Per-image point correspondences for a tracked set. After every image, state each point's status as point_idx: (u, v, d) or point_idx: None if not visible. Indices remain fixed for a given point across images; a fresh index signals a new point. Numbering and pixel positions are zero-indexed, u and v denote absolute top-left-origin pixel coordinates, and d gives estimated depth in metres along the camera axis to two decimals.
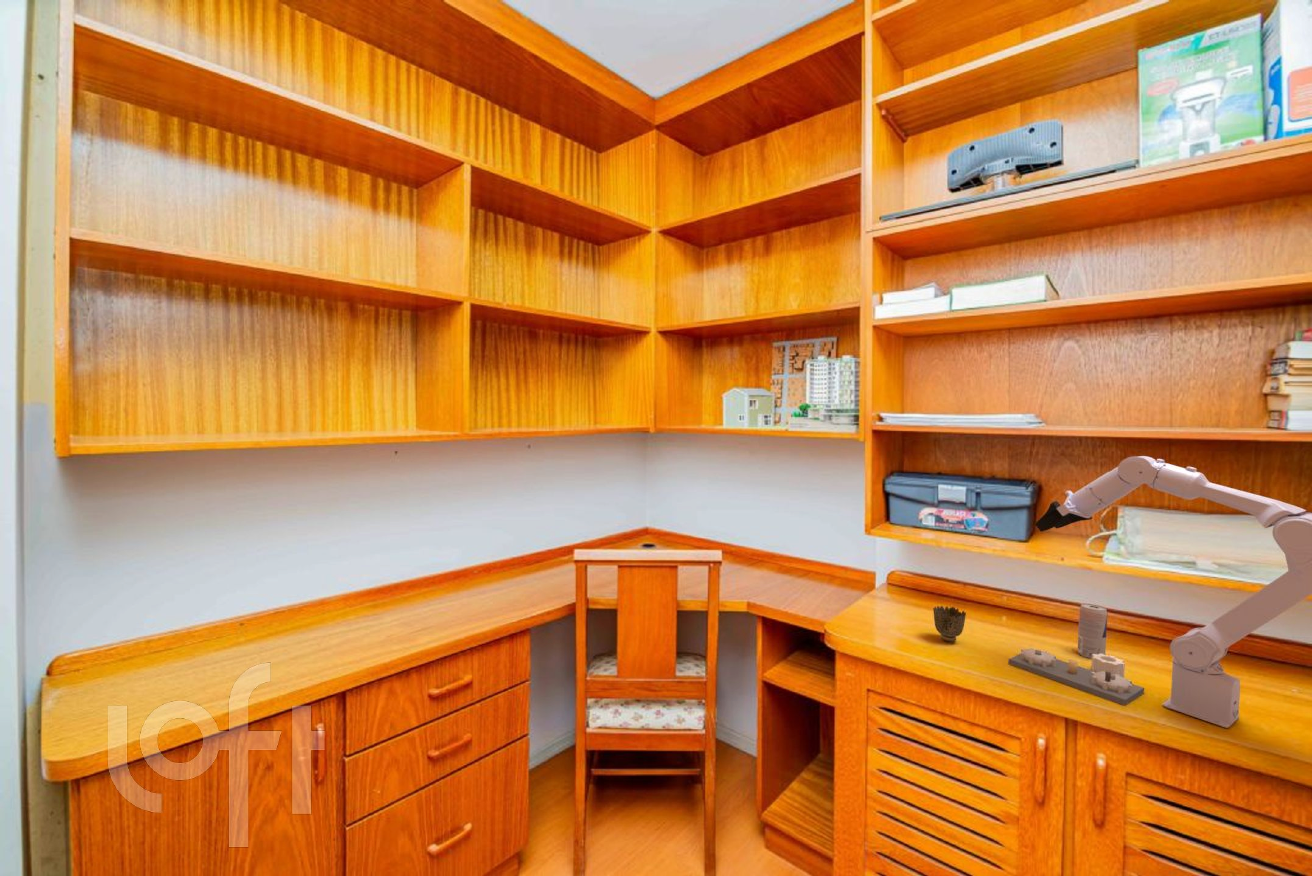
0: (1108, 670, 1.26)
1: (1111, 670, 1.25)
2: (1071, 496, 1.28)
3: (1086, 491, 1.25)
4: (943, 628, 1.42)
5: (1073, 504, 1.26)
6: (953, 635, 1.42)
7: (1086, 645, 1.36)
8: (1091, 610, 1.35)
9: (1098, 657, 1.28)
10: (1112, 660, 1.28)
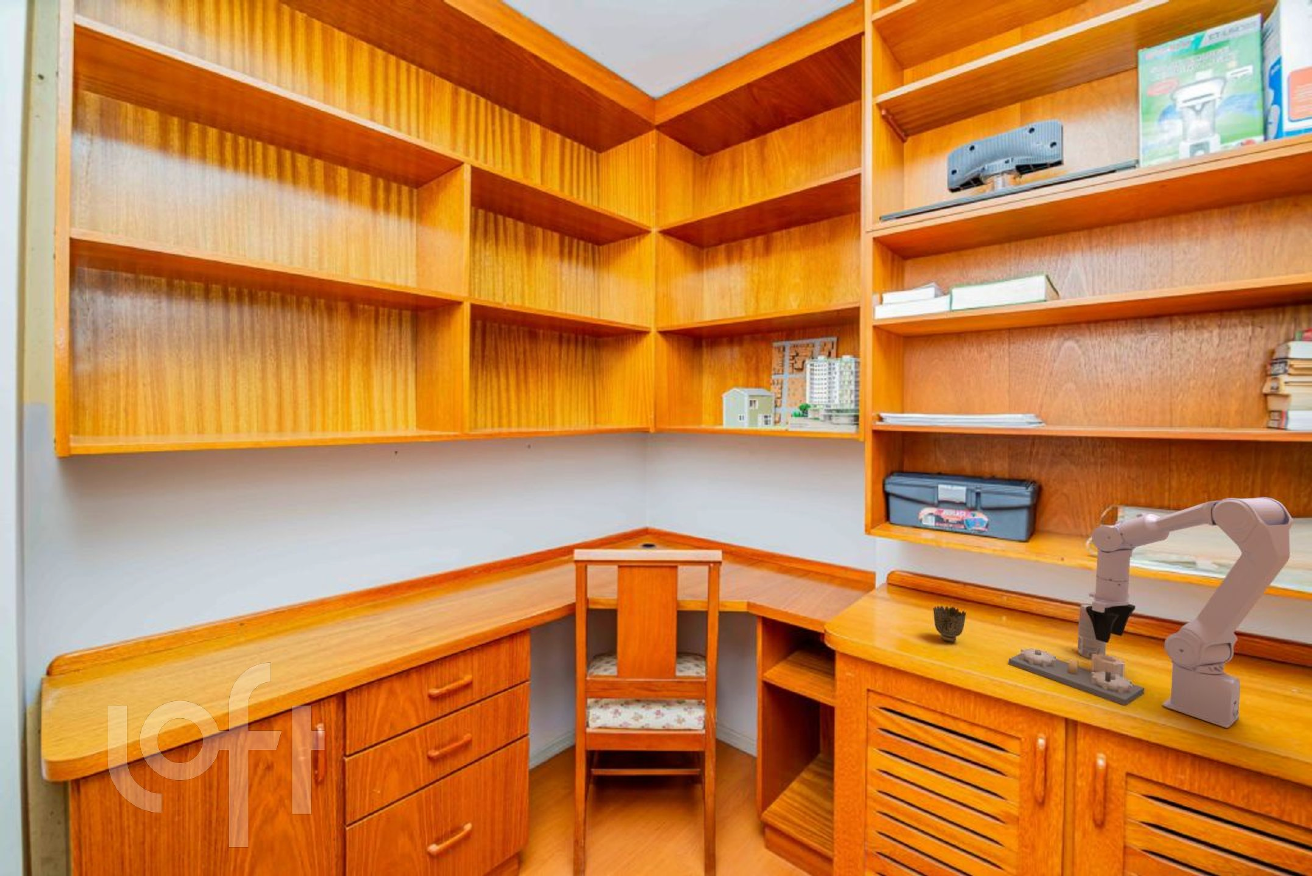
0: (1108, 670, 1.26)
1: (1111, 670, 1.25)
2: (1096, 594, 1.28)
3: (1099, 581, 1.27)
4: (943, 628, 1.42)
5: (1103, 599, 1.26)
6: (953, 635, 1.42)
7: (1086, 645, 1.36)
8: None
9: (1098, 657, 1.28)
10: (1112, 660, 1.28)
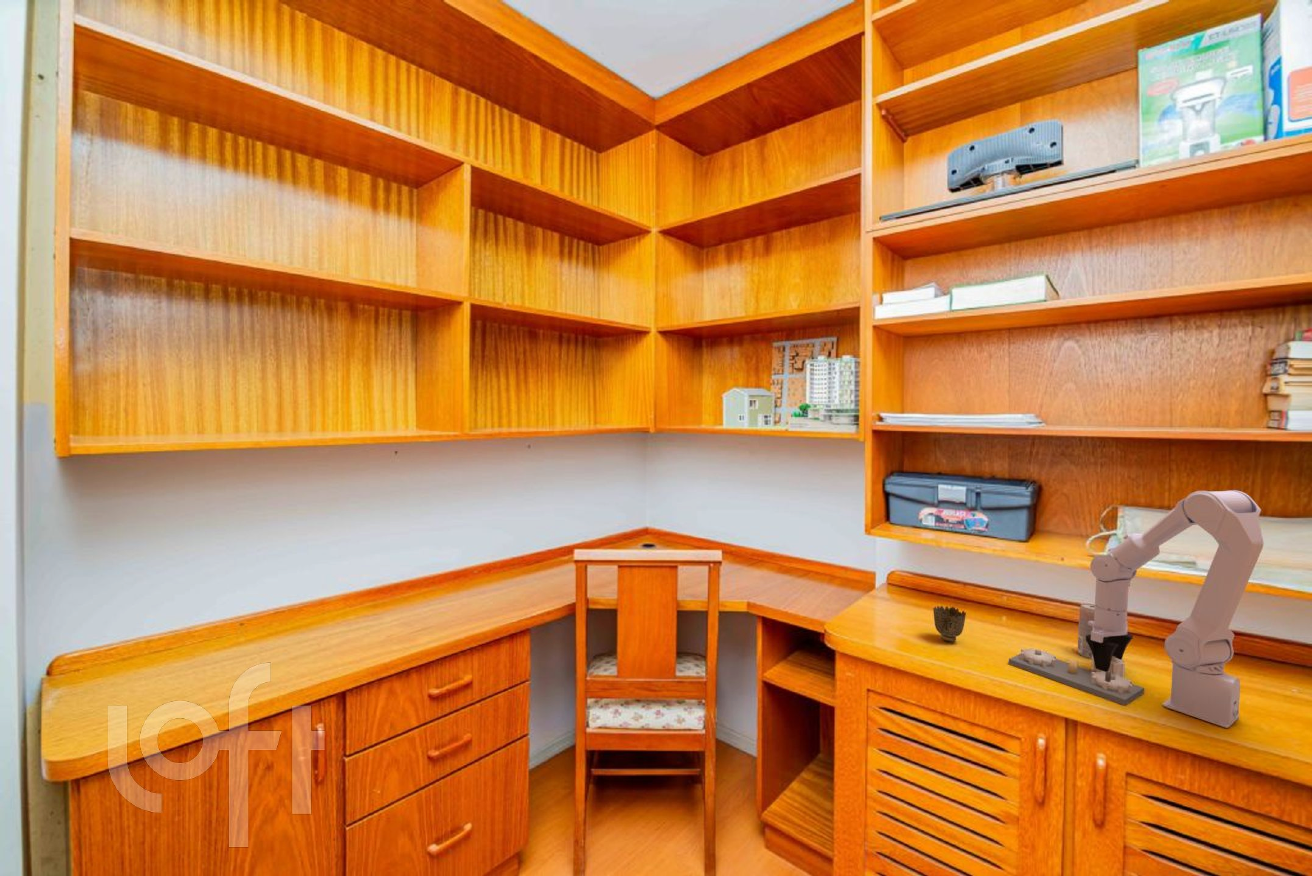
0: (1108, 670, 1.26)
1: (1111, 670, 1.25)
2: (1094, 623, 1.28)
3: (1098, 611, 1.27)
4: (943, 628, 1.42)
5: (1101, 629, 1.26)
6: (953, 635, 1.42)
7: (1086, 645, 1.36)
8: (1091, 610, 1.35)
9: None
10: (1112, 660, 1.28)
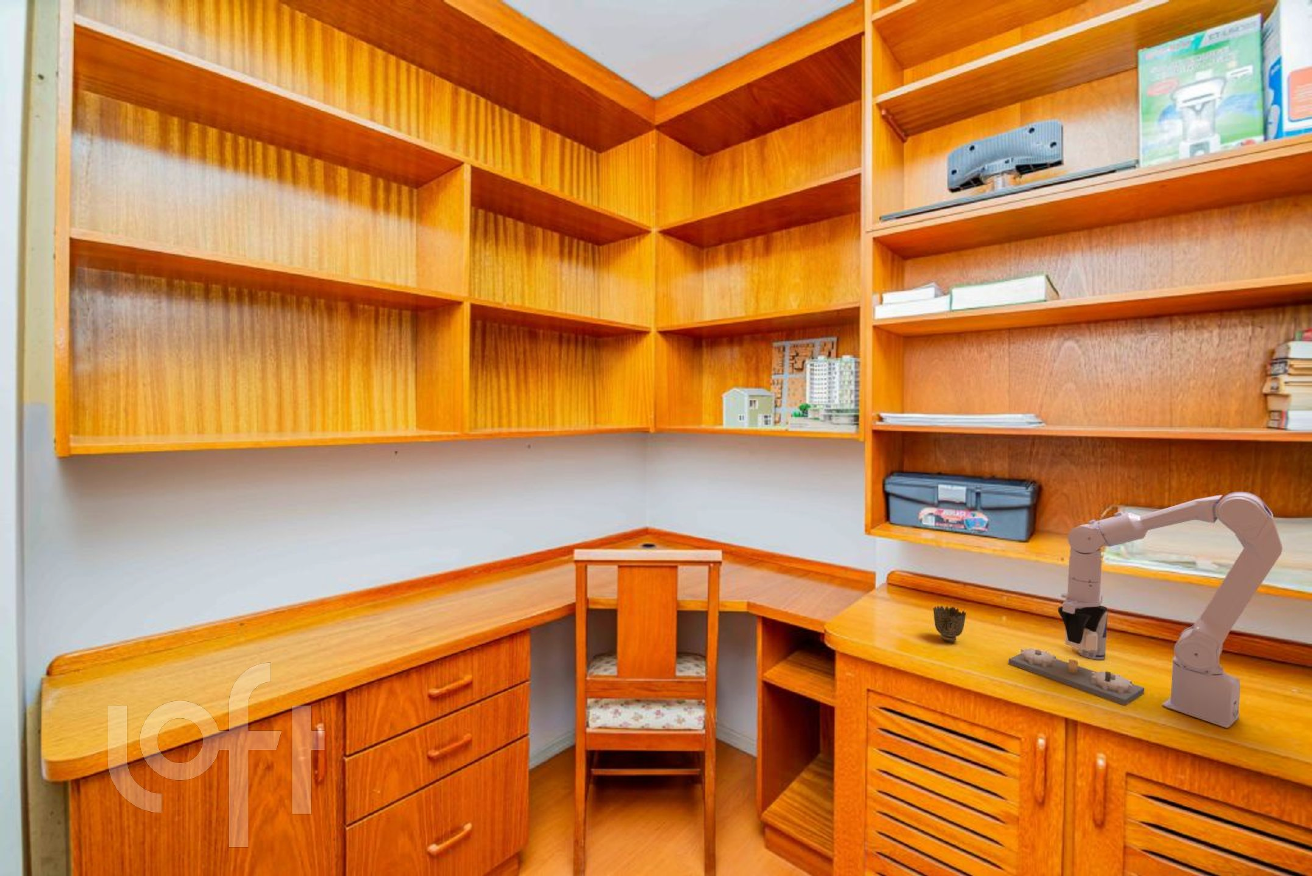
0: (1081, 642, 1.23)
1: (1083, 642, 1.23)
2: (1067, 595, 1.26)
3: (1071, 582, 1.25)
4: (943, 628, 1.42)
5: (1074, 600, 1.24)
6: (953, 635, 1.42)
7: None
8: None
9: None
10: (1085, 633, 1.26)
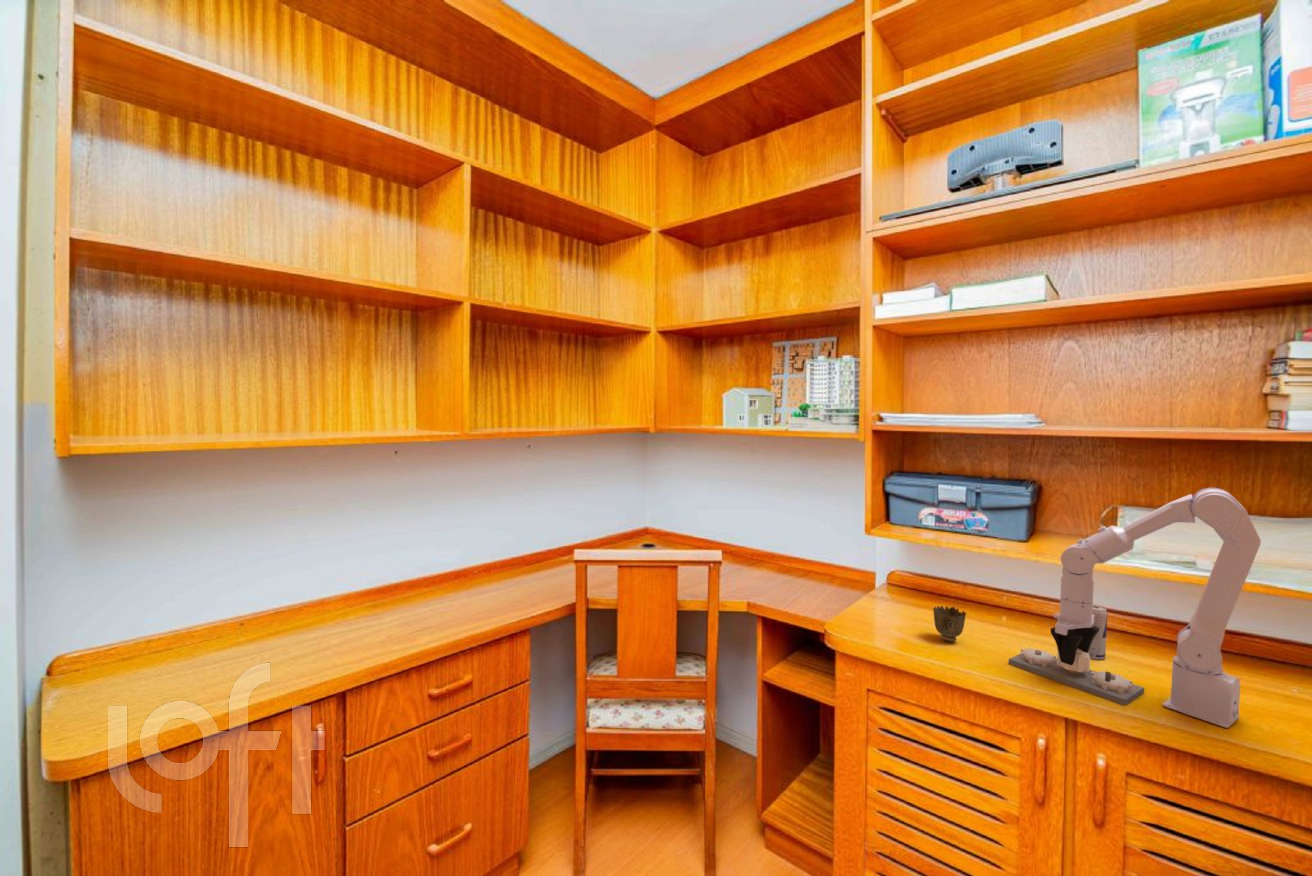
0: (1073, 663, 1.23)
1: (1076, 663, 1.22)
2: (1060, 616, 1.25)
3: (1063, 603, 1.24)
4: (943, 628, 1.42)
5: (1066, 621, 1.23)
6: (953, 635, 1.42)
7: None
8: None
9: None
10: (1078, 653, 1.25)
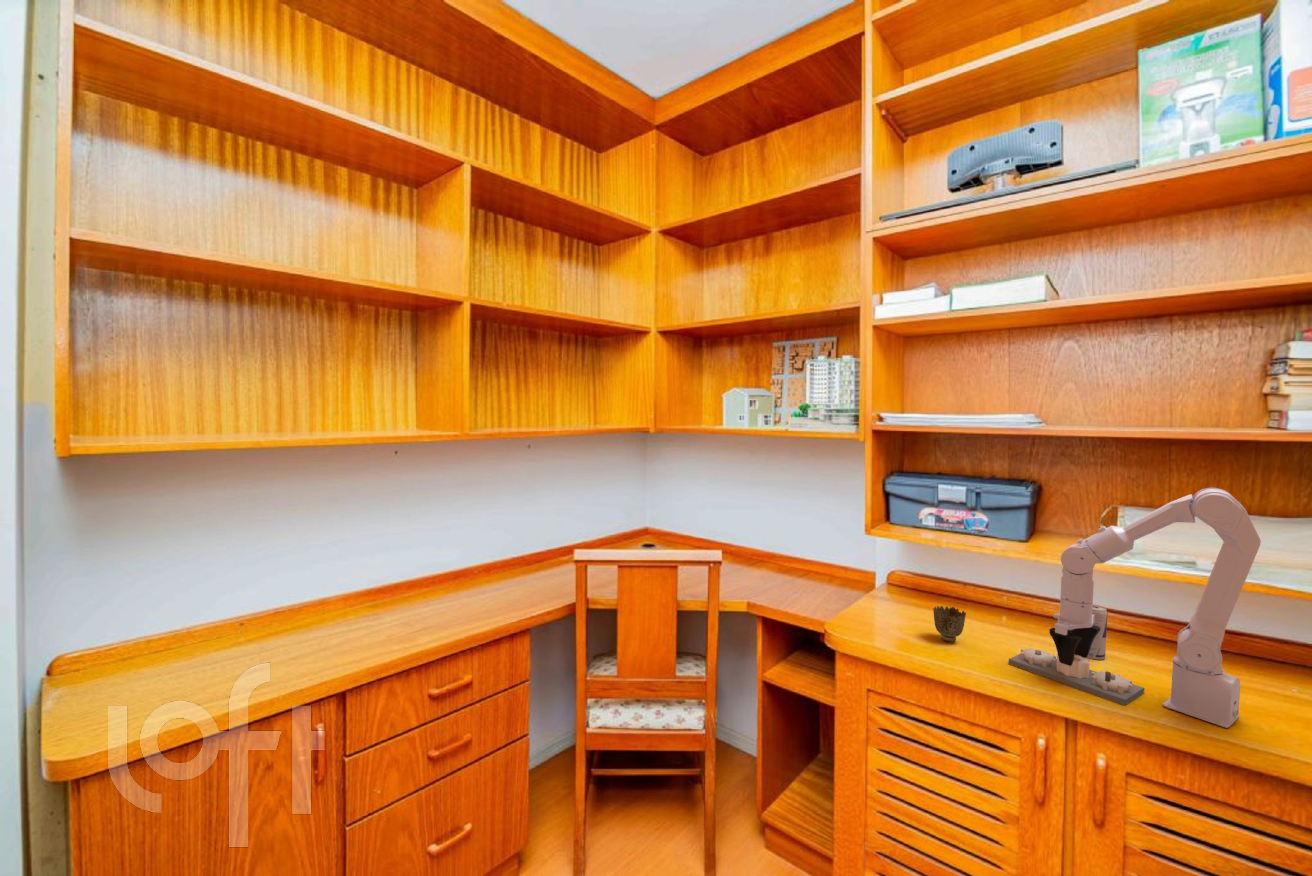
0: (1072, 670, 1.23)
1: (1075, 670, 1.22)
2: (1060, 616, 1.25)
3: (1063, 603, 1.24)
4: (943, 628, 1.42)
5: (1066, 621, 1.23)
6: (953, 635, 1.42)
7: None
8: None
9: None
10: (1077, 659, 1.25)
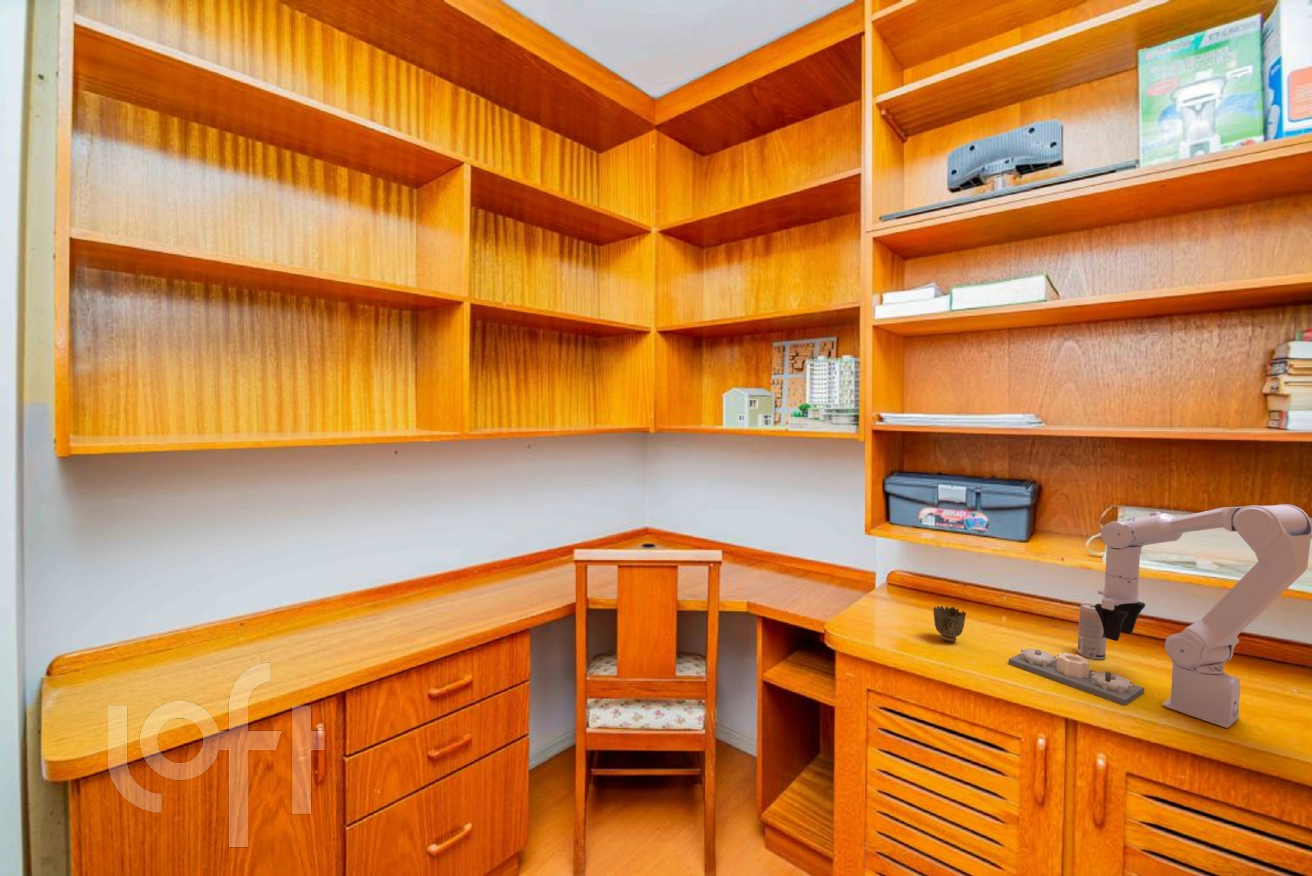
0: (1072, 670, 1.23)
1: (1075, 670, 1.22)
2: (1105, 592, 1.26)
3: (1109, 578, 1.24)
4: (943, 628, 1.42)
5: (1112, 597, 1.24)
6: (953, 635, 1.42)
7: (1086, 645, 1.36)
8: (1091, 610, 1.35)
9: (1063, 656, 1.25)
10: (1077, 659, 1.25)
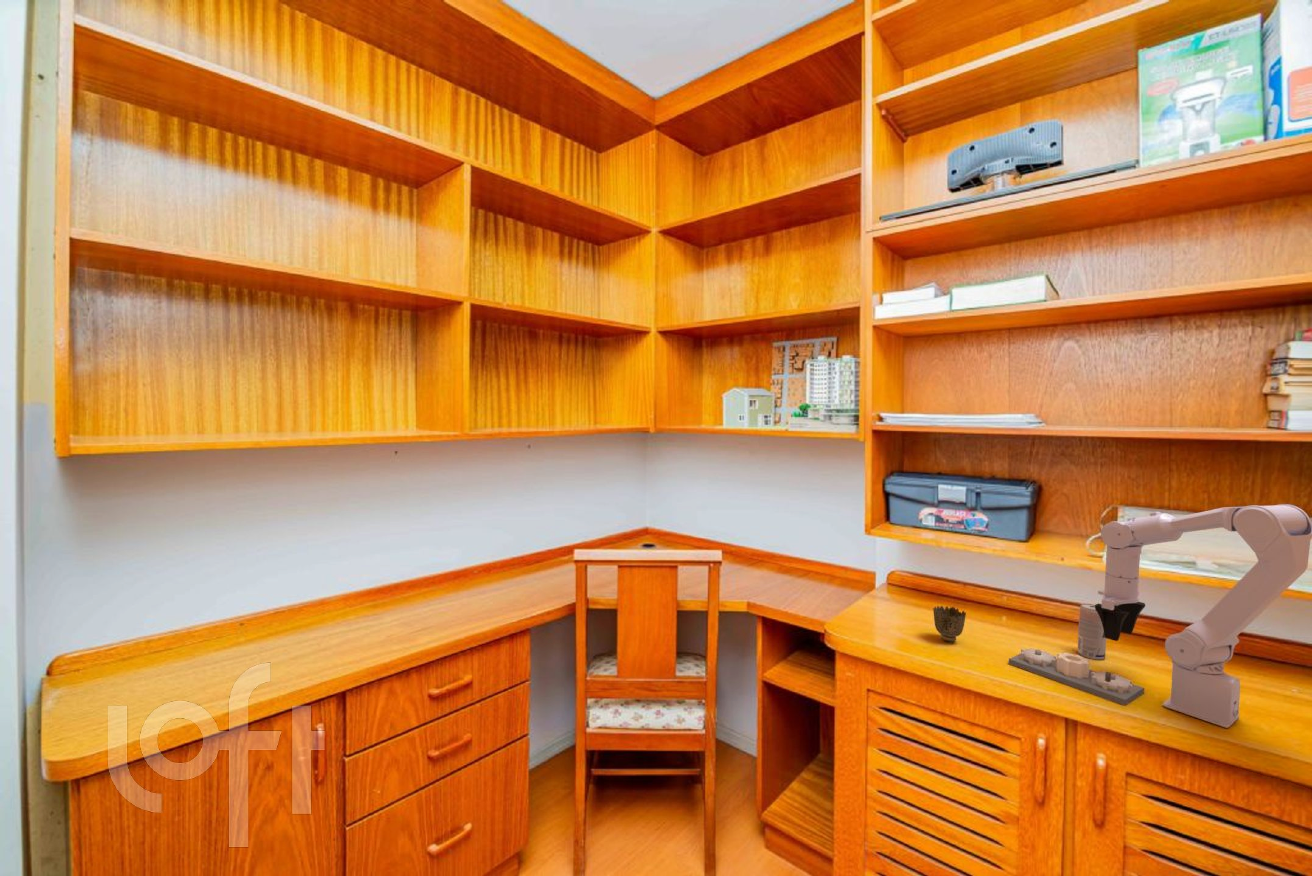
0: (1072, 670, 1.23)
1: (1075, 670, 1.22)
2: (1105, 592, 1.26)
3: (1109, 578, 1.24)
4: (943, 628, 1.42)
5: (1112, 597, 1.24)
6: (953, 635, 1.42)
7: (1086, 645, 1.36)
8: (1091, 610, 1.35)
9: (1063, 656, 1.25)
10: (1077, 659, 1.25)
